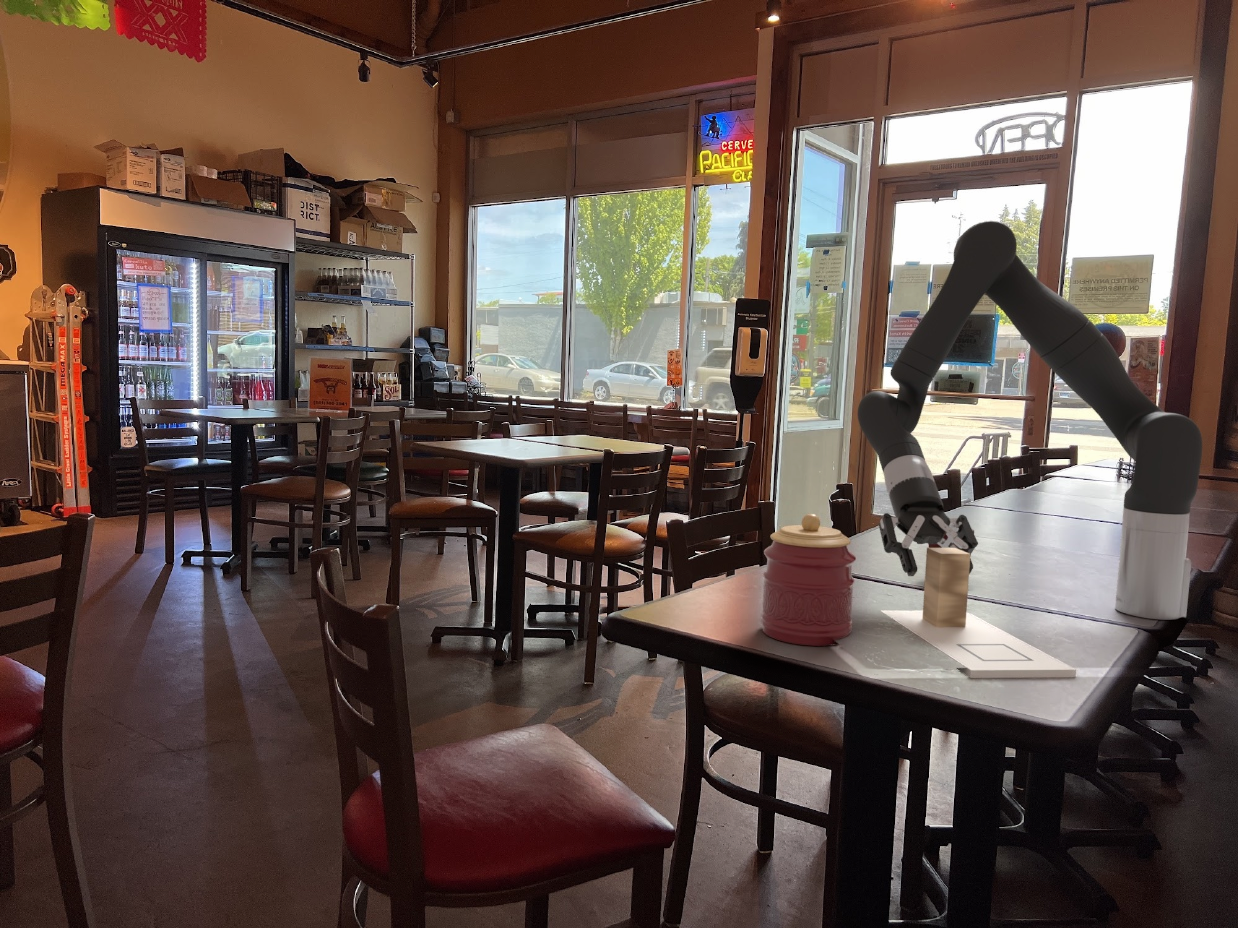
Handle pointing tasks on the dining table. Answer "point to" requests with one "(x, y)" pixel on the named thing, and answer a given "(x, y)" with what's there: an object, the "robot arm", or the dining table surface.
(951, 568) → the oak block
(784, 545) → the canister
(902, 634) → the dining table surface
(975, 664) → the board
